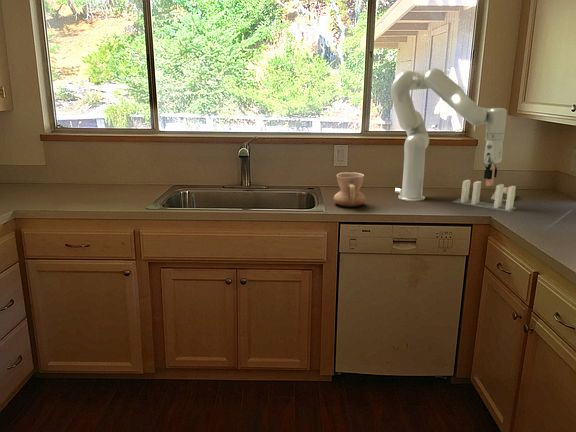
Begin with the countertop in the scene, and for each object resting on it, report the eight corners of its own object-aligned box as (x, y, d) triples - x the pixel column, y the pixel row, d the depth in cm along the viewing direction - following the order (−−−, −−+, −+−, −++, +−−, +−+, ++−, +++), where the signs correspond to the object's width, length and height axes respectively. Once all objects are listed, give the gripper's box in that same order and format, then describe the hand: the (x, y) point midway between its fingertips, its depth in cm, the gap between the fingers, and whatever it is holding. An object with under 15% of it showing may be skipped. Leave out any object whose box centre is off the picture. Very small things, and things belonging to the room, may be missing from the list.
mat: (451, 203, 216) (451, 201, 216) (460, 199, 223) (460, 198, 223) (509, 213, 199) (510, 211, 199) (517, 208, 206) (517, 207, 206)
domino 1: (460, 202, 216) (462, 181, 213) (464, 200, 219) (467, 179, 217) (464, 202, 215) (466, 181, 212) (468, 200, 218) (470, 180, 216)
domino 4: (493, 207, 206) (496, 185, 203) (497, 205, 210) (500, 184, 207) (497, 208, 205) (500, 186, 202) (501, 206, 209) (504, 184, 206)
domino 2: (471, 203, 213) (473, 182, 210) (475, 202, 216) (477, 181, 213) (474, 204, 212) (477, 183, 209) (478, 202, 215) (481, 181, 212)
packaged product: (495, 185, 236) (517, 187, 231) (494, 194, 237) (515, 196, 233) (491, 191, 221) (514, 194, 216) (490, 201, 222) (513, 204, 218)
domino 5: (505, 209, 203) (508, 187, 200) (509, 207, 206) (512, 185, 204) (509, 210, 202) (512, 187, 199) (512, 208, 205) (515, 186, 203)
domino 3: (485, 185, 207) (488, 163, 204) (489, 184, 210) (492, 162, 208) (489, 186, 206) (491, 163, 203) (493, 184, 209) (495, 162, 207)
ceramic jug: (332, 200, 220) (333, 170, 216) (363, 200, 219) (364, 171, 215) (334, 210, 203) (335, 178, 199) (367, 210, 202) (368, 178, 198)
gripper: (496, 138, 194) (491, 181, 199) (510, 136, 206) (505, 176, 211) (478, 137, 199) (474, 179, 204) (492, 135, 211) (488, 174, 216)
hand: (490, 177), depth 207 cm, fingers closed on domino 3, 4 cm apart
